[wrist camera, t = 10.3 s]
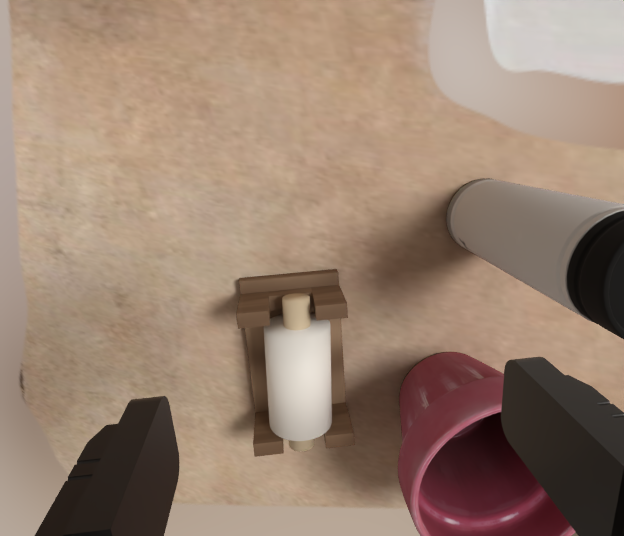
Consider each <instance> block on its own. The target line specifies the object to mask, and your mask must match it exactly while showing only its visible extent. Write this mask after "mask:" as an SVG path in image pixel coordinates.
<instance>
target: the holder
mask: <svg viewBox="0 0 624 536" xmlns="http://www.w3.org/2000/svg"><path fill="white" fill-rule="evenodd" d="M239 286H240V299H239V304H238V308H237V313H236V316H237V324H238V329H240V328H245V333H246V341H247V349H248V357H249V365H250V373H251V381H252V389H253V397H254V405H255V425H254V440H253V447H254V454H255V456H264V455H272V454H281V453H284V451H283V438H281V437H279V436H277V435H276V434H275V433H274V432H273V431H272V430H271V428H270V424H269V408H268V392H267V376H266V359H265V343H264V326H270V318H272V317H275V316H277V315H281V314H283V306H282V298H283V297H284V296H285V295H288V294H294V293H301V294H306V295H308V296H309V297H310V313H314V314H315V316H316V320H317V321H320V320H329V321H330V333H331V394H332V424H331V427H330V428H329V430H328V431H327V432H326V433H324V437H325V443H326V448H333V447H341V446H350V445H355V444H354V431H353V428H352V424H351V420H350V416H349V413H348V409H347V405H346V399H345V382H344V365H343V348H342V331H341V318H348V315H347V302H346V300H345V298H344V295H343V293H342V291H341V289H340V286H339V280H338V271H337V269H333V270H322V271H311V272H300V273H290V274H279V275H268V276H258V277H247V278H240V280H239Z"/></svg>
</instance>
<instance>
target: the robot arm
mask: <svg viewBox="0 0 624 536" xmlns="http://www.w3.org/2000/svg"><path fill="white" fill-rule="evenodd" d="M501 422H502V427H503V431H504V434H505V436H506V438H507V440H508V442H509V443H510V445H511V446H512V447H513V449H514V450H515V451H516V453H517V454H518V455H519V457H520V458H521V459H522V461H523V462H524V463H525V465H526V466H527V467H528V469H529V470H530V472H531V473H532V474H533V476H534V477H535V478H536V480H537V481H538V482H539V484H540V485H541V486H542V488H543V489H544V490H545V492H546V493H547V494H548V496H549V497H550V498H551V500H552V501H553V502H554V504H555V505H556V506H557V508H558V509H559V510H560V512H561V513H562V514H563V516H564V517H565V518H566V520H567V521H568V522H569V524H570V525H571V526H572V528H573V529H574V530H575V532H576V533H577V534H578V535H579V536H624V413H623V412H622V411H621V410H620V409H618V408H617V407H616V406H615V405H614V404H610V402H609V400H608V399H606V398H605V397H604V396H603V395H601V394H600V393H599V392H598V391H597V390H595V389H594V388H593V387H592V386H590V385H587V384H585V383H583V382H581V381H579V380H577V379H575V378H573V377H571V376H569V375H566V376H565V375H564V374H562V373H561V372H560V371H559V370H558V369H557V368H555V367H554V366H553V365H552V364H551V363H550V362H548V361H547V360H546V359H545V358H543V357H533V358H524V359H514V360H509V361H508V362H507V363H506V365H505V370H504V383H503V395H502V408H501ZM178 476H179V452H178V447H177V442H176V436H175V431H174V426H173V421H172V416H171V411H170V405H169V402H168V399H167V397H165V396H161V397H151V398H142V399H133V400H131V401H130V402H129V403H128V405H127V407H126V409H125V411H124V413H123V415H122V417H121V419H120V421H119V423H118V424H113V425H106V426H105V427H104V428H103V429H102V430H101V431H100V432H98V433H97V434H96V435H95V436H94V437H93V438H92V439H91V440H90V441H89V442H88V443H87V444H86V446H85V448H84V450H83V451H82V453H81V455H80V457H79V458H78V460H77V465H75V466H74V467H73V469H72V471H71V473H70V474H69V476H68V481H66V482H65V483H64V485H63V487H62V488H61V490H60V492H59V494H58V496H57V497H56V499H55V501H54V503H53V504H52V506H51V508H50V510H49V511H48V513H47V515H46V517H45V518H44V520H43V522H42V524H41V525H40V527H39V529H38V531H37V533H36V535H35V536H164V533H165V529H166V525H167V521H168V517H169V513H170V509H171V505H172V501H173V498H174V494H175V490H176V486H177V482H178Z"/></svg>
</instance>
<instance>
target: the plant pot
mask: <svg viewBox="0 0 624 536" xmlns="http://www.w3.org/2000/svg"><path fill="white" fill-rule="evenodd" d="M503 383H504V374H503V373H501V372H499V371H497V370H495V369H493V368H492V367H490V366H488V365H486V364H484V363H482V362H480V361H478V360H476V359H474V358H472V357H470V356H468V355H465V354H462V353H457V352H444V353H439V354H435V355H432V356H430V357H428V358H426V359H424V360H422V361H421V362H419V363H418V364H417V365H416V366H414V367H413V368H412V370H411V371H410V372H409V373H408V374H407V376H406V377H405V379H404V381H403V383H402V386H401V389H400V394H399V405H400V418H401V430H402V440H403V443H402V446H401V448H400V453H399V459H398V477H399V483H400V486H401V490H402V493H403V496H404V499H405V501H406V504H407V507H408V510H409V512H410V514H411V517H412V519H413V522H414V524H415V526H416V529H417V531H418V532H419V534H420V536H572V535H573V534H574V533H575V530H574V529H573V528H572V526H571V525H570V524H569V522H568V521H567V520H566V518H565V517H564V516H563V514H562V513H561V512H560V510H559V509H558V508H557V506H556V505H555V504H554V502H553V501H552V500H551V498H550V497H549V496H548V494H547V493H546V492H545V490H544V489H543V488H542V486H541V485H540V484H539V482H538V481H537V480H536V478H535V477H534V476H533V474H532V473H531V472H530V470H529V469H528V467H527V466H526V465H525V463H524V462H523V461H522V459H521V458H520V457H519V455H518V454H517V453H516V451H515V450H514V449H513V447H512V446H511V445H510V443H509V442H508V440H507V438H506V436H505V434H504V431H503V427H502V422H501V408H502V395H503Z"/></svg>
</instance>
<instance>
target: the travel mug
mask: <svg viewBox="0 0 624 536" xmlns="http://www.w3.org/2000/svg"><path fill="white" fill-rule="evenodd" d="M446 221H447V228H448V231H449V233H450V235H451V237H452V238H453V240H454V241H455V242H456V243H457V244H459V245H460V246H462V247H463V248H465V249H467V250H469V251H470V252H472V253H474V254H475V255H477V256H479V257H480V258H482V259H484V260H486V261H487V262H489V263H491V264H493V265H494V266H496V267H498V268H499V269H501V270H503V271H505V272H506V273H508V274H510V275H511V276H513V277H515V278H517V279H518V280H520V281H522V282H524V283H525V284H527V285H529V286H530V287H532V288H534V289H536V290H537V291H539V292H541V293H542V294H544V295H546V296H548V297H549V298H551V299H553V300H555V301H556V302H558V303H560V304H561V305H563V306H565V307H567V308H568V309H570V310H572V311H573V312H575V313H577V314H579V315H581V316H582V317H584V318H586V319H587V320H589V321H592V322H595V323H596V324H599V325H600V326H602V327H603V328H605V329H607V330H608V331H610V332H612V333H614V334H615V335H617V336H619V337H621V338H622V339H624V204H620V203H615V202H610V201H604V200H599V199H594V198H589V197H583V196H578V195H573V194H568V193H562V192H557V191H552V190H546V189H541V188H536V187H531V186H525V185H520V184H515V183H510V182H504V181H499V180H494V179H478V180H474V181H472V182H470V183H468V184H466V185H465V186H463V187H462V188H461V189H460V190H459V191H458V192H457V193H456V194H455V195H454V197H453V198H452V200H451V202H450V204H449V207H448V210H447V218H446Z"/></svg>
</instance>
